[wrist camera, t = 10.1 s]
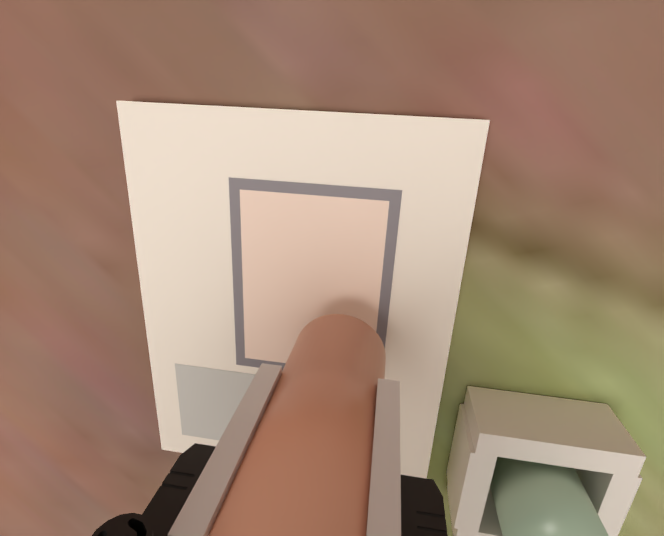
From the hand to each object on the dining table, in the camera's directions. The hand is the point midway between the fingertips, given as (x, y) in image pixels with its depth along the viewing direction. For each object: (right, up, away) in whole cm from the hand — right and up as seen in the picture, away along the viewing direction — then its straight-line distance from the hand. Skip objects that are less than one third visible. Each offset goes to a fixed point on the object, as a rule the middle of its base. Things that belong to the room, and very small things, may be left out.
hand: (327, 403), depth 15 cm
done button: (+10, -6, +6) cm, 13 cm away
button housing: (+11, -5, +8) cm, 14 cm away
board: (-2, +3, +7) cm, 8 cm away
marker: (0, +1, +3) cm, 3 cm away
